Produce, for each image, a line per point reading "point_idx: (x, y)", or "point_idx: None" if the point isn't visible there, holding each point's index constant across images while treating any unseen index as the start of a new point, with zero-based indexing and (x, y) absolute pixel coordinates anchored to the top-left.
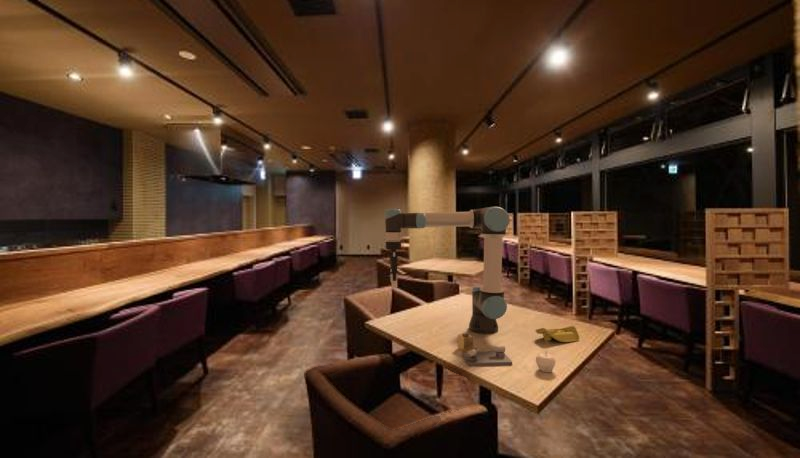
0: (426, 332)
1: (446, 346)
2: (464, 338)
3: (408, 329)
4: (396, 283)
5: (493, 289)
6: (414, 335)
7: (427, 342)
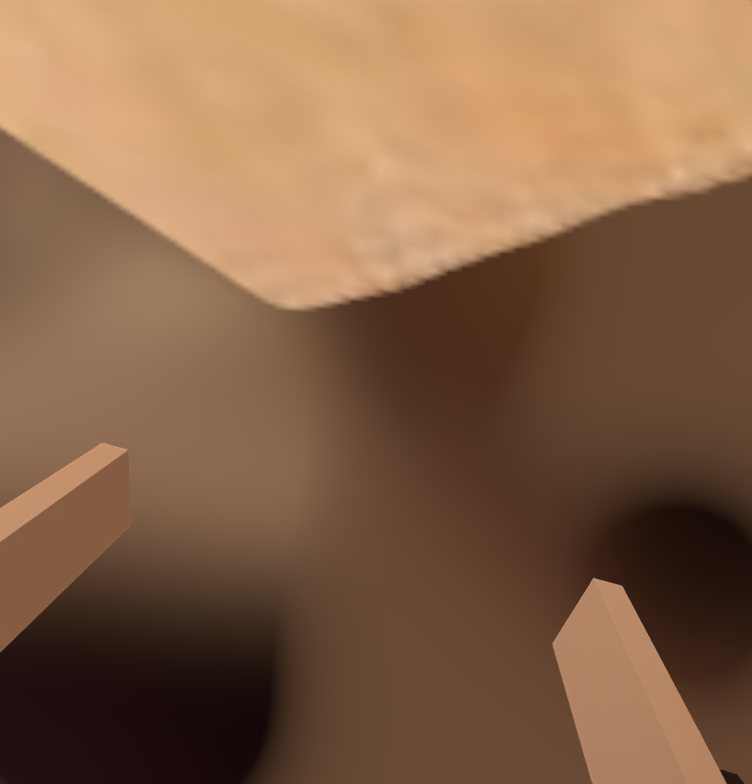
0: (326, 75)
1: (641, 26)
2: None
3: (244, 187)
4: (652, 671)
5: None
6: (361, 186)
7: (511, 143)
